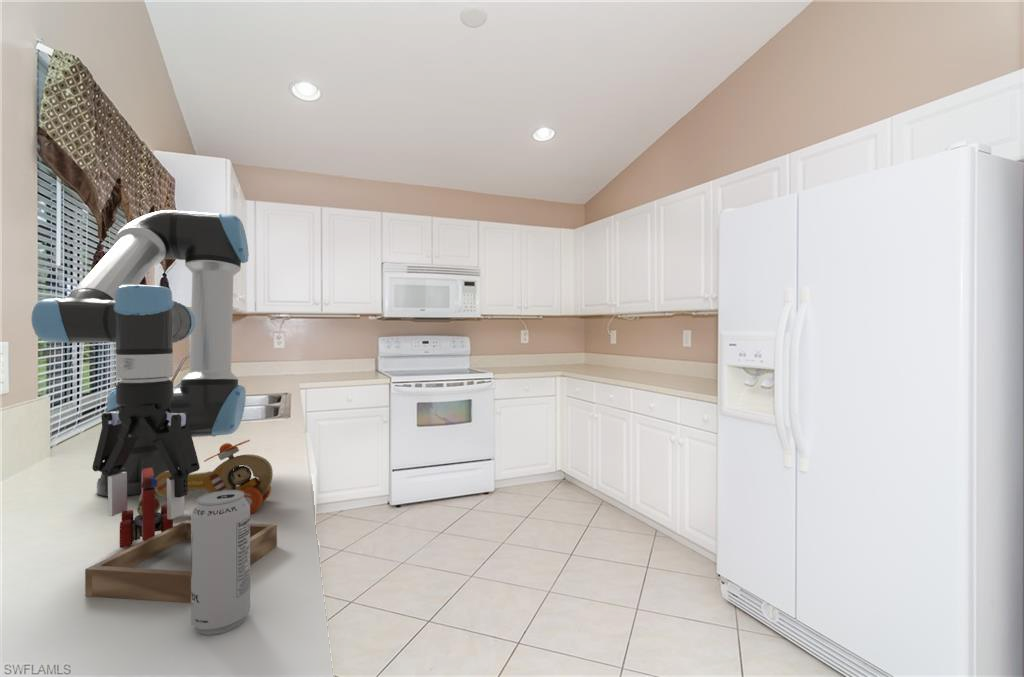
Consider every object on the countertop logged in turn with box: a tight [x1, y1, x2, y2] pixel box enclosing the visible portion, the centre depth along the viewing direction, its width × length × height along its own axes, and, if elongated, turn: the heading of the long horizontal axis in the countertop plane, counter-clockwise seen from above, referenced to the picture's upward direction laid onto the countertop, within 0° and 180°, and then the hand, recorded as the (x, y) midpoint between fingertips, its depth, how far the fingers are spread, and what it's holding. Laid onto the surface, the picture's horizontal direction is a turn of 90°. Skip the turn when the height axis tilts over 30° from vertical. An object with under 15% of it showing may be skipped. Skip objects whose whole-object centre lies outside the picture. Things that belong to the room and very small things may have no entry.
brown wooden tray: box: [84, 520, 278, 604], centre depth 71 cm, size 17×16×4 cm
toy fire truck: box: [119, 468, 174, 549], centre depth 80 cm, size 7×12×10 cm, turn 37°
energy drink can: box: [190, 490, 251, 636], centre depth 58 cm, size 6×6×15 cm
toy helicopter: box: [155, 439, 274, 514], centre depth 95 cm, size 8×21×14 cm, turn 102°
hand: (146, 514), depth 80 cm, fingers closed on toy fire truck, 10 cm apart
